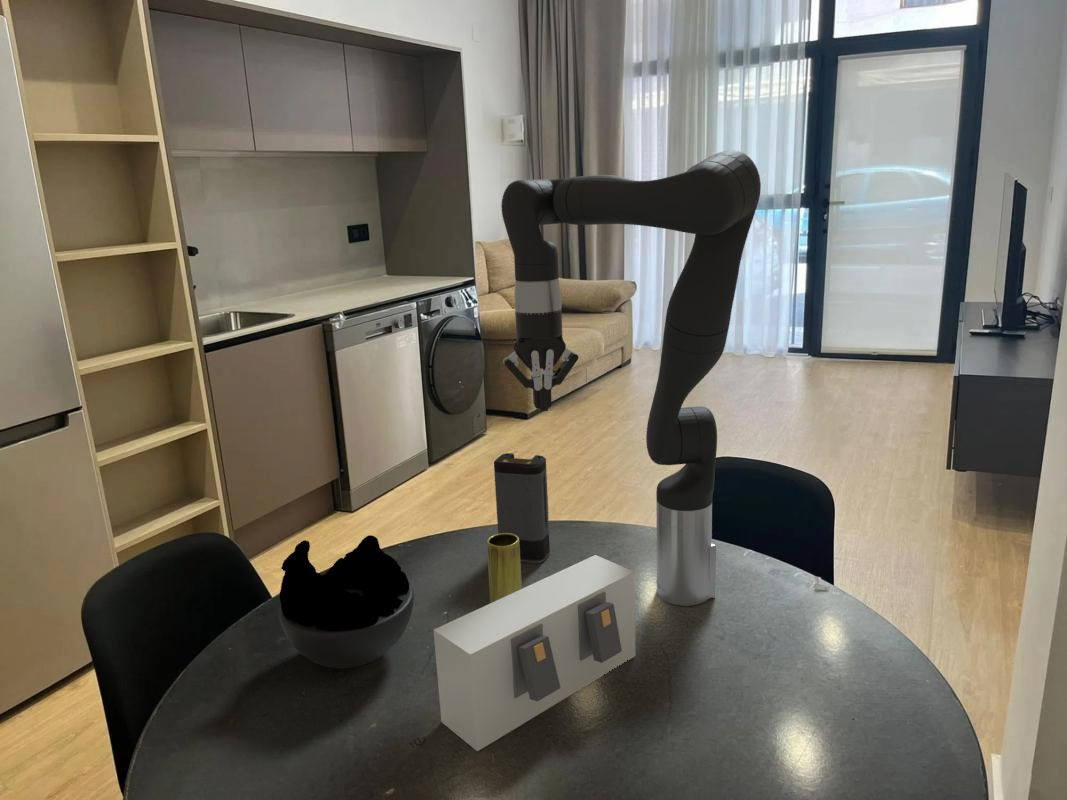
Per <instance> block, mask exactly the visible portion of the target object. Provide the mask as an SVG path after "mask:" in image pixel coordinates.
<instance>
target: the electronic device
mask: <svg viewBox="0 0 1067 800" xmlns="http://www.w3.org/2000/svg"><path fill="white" fill-rule="evenodd" d="M493 467H494V468H493V471H494V487H495V490H494V491H495V504H496V505H495V506H496V518H497V519H496V520H497V534H500V533H511V534H515V535H516V536H518V537H519V544H520V563H529V564H530V563H531V564H541V563H543V562H544V561H545V560H546V559H547V557H548V556H549V555H550V552H551V551H550V550H551V549H550V548H551V546H550V528H549V527H550V526H549V525H550V524H549V501H548V500H549V499H548V497H549V496H548V481H547V480H548V477H547V476H548V475H547V458H546V457H544V456H543V455H539V454H535V455H534V456H533V457H532V458H516V457H515V453H512V452H511V453H503V454H501V455H500V456H499V457H497V458H496V459H495V460H494V461H493Z"/></svg>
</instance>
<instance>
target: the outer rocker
mask: <svg viewBox="0 0 1067 800" xmlns="http://www.w3.org/2000/svg"><path fill="white" fill-rule="evenodd" d="M518 652H519V656H520V660H521V664H522V668H523V673H524V677H525V681H526V685H527V689H528V693H529V698H530V699H531V700H534V701H539V700H541V699H543V698H544V697H546V696H548V695H550V694H551V693H553V692H555V691H556V690H558V689H560V683H559V679H558V675H557V671H556V667H555V662H554V658H553V654H552V650H551V646H550V641H549V637H548V636H543V635H540V636H538V637H536V638H534V639H532V640H530V641H528V642H526V643H524V644H522V645H520V646H519V647H518Z"/></svg>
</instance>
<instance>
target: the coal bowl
mask: <svg viewBox="0 0 1067 800" xmlns="http://www.w3.org/2000/svg"><path fill="white" fill-rule="evenodd" d="M378 539H379V538H377V537H376V536H374V535H373V534H372V535H370V534H369V535H367V536H365V537H364V538H363V539H361V541H360V542H359V543H358V545H357V546H356V547H355V548H354V549H353V550H352V551H349V552H346V554H345V555H344V557H339V558H338V559H337V560H336V561H335V562H334V564H333V565H332V566H330V569H329V570H327V571H326V573H324V574H321V573H319V572H318V571H316V570H317V569H316V568H315V566H314V565H313V564H312V563H311V562H310V560H309V551H310V549H311V548H310V547H311V545H310V541H309V540H307V539H305V540H301V541H300V542H299V543H298V544H297V545H296V546H295V547H294V551H293V552H292V553H290V554H289V555H288V556H287V557H286V559H284V560H283V563H282V566H281V567H280V569H281V570H282V571H284V575H283V576H282V580H281V584H280V590H279V596H278V597H279V598H278V599H279V601H280V606H279V608H278V617H279V622H280V625H281V628H282V630H283V632H284V634H285V636H286V638H287V639H288V641H289V643H290V644H291V645H292V646H293V648H295V650H297V651H298V652H299V653H300V654H301V655H302V656H304V658H306V659H308V660H310V661H311V662H314V664H318V665H320V666H324V667H328V668H335V669H352V668H355V667H356V668H357V667H361V666H363V665H367V664H369V663H373V662H374V661H375V660H377V659H379V658H380V657H382V656H384V655H385V654H386V653H387V652H389V651H390V650H391V649H392V648H394V646H395V645H396V644H397V642H398V641H399V640H400V639H401V637H402V636H403V634H404V633H405V630H406V629H407V627H408V625H409V622H410V619H411V616H412V613H413V608H414V603H415V602H414V600H415V596H414V594H415V593H414V587H413V585H412V583H411V582H410V581H409V579H408V576H407V574H406V573H405V572H404V571H402V567H401V565H399V564H398V561H397V560H396V559H395V558H393V556H390V555H389V554H387V553H386V552H384V551H383V550H382V549H381V547H380V543H379V540H378Z"/></svg>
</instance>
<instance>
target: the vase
mask: <svg viewBox="0 0 1067 800" xmlns="http://www.w3.org/2000/svg"><path fill="white" fill-rule="evenodd" d="M486 542H487V547H486V548H487V567H488V587H489V588H488V589H489V604H490V603H492V602H495V601H497V600H499V599H501V598H503V597H505V596H508V595H510V594H512V593H514V592H516V591H518V590H521V589H523V582H522V581H523V580H522V569H521V568H522V566H521V562H520V544H519V537H518V536H516V535H515V534H511V533H500V534H498V533H496V534H493V535H491V536H489V537H488V538H487V540H486Z"/></svg>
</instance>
